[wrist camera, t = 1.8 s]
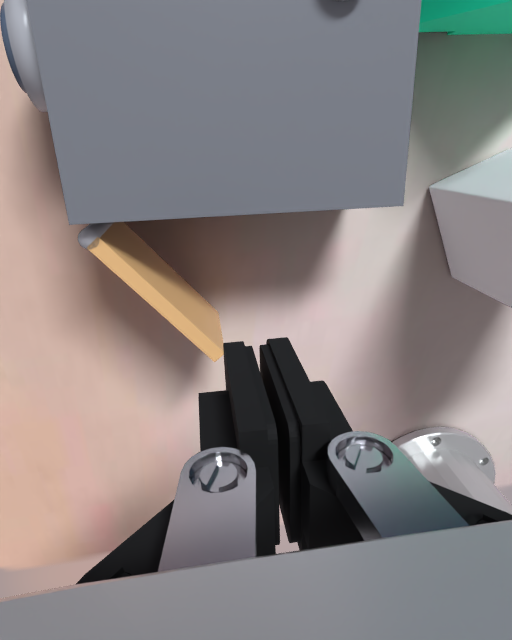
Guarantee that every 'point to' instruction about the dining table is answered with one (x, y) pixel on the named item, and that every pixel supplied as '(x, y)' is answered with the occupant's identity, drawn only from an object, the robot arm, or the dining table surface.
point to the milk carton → (478, 225)
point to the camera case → (219, 102)
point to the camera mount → (466, 16)
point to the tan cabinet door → (155, 283)
